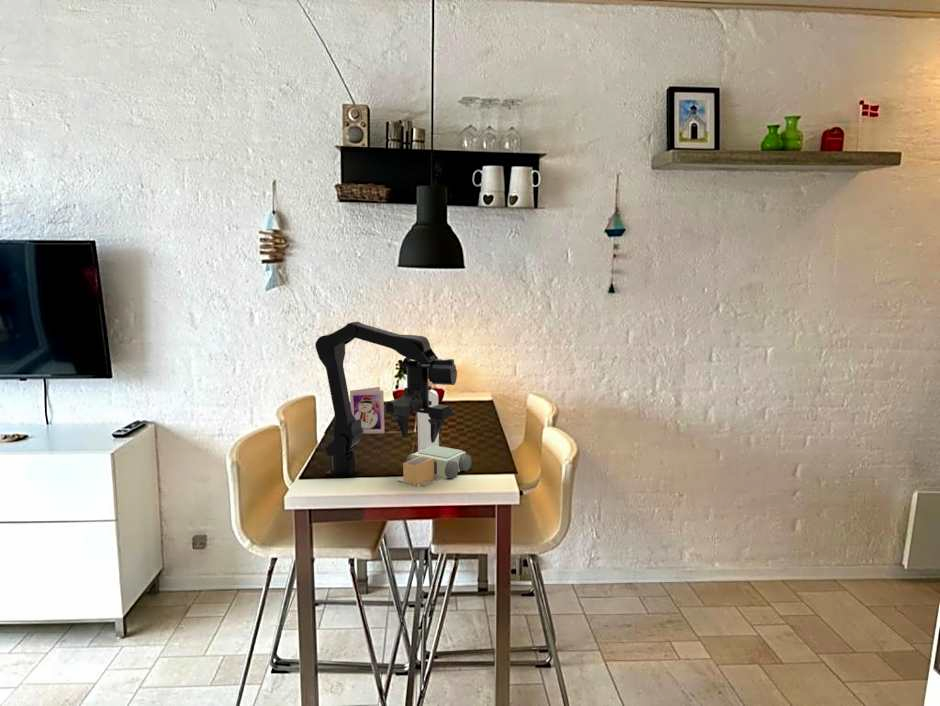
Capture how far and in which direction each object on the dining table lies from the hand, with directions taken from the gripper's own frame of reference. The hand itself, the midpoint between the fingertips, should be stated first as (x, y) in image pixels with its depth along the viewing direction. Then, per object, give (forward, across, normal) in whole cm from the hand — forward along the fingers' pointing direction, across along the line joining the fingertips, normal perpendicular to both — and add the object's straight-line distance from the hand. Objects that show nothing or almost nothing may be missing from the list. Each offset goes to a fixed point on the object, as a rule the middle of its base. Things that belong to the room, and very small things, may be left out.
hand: (418, 440), depth 182 cm
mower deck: (+11, 0, +10) cm, 15 cm away
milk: (+11, -12, +22) cm, 27 cm away
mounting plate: (+11, 0, 0) cm, 11 cm away
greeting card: (+11, -45, +32) cm, 57 cm away
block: (+11, 0, 0) cm, 11 cm away
